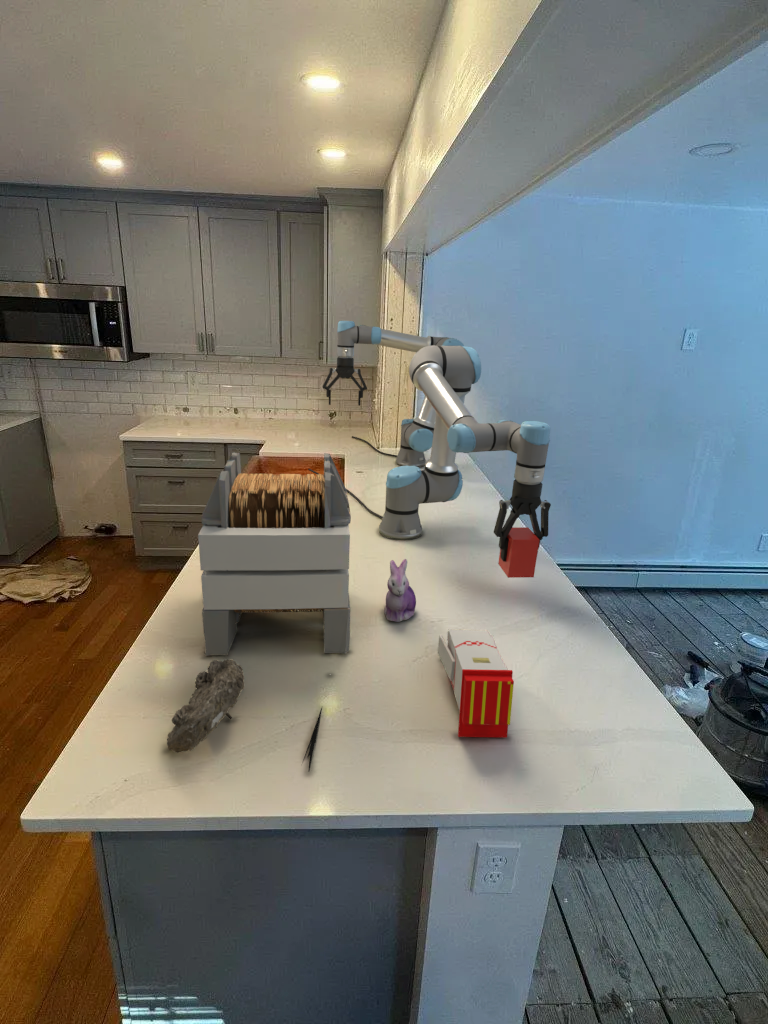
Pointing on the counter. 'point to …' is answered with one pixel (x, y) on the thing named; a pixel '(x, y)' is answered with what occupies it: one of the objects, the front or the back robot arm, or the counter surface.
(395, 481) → the front robot arm
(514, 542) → the block
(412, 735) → the counter surface
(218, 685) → the grey elongated lump
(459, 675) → the toy
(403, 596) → the figurine
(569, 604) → the counter surface
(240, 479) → the record crate stand
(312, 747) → the feather
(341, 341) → the back robot arm
